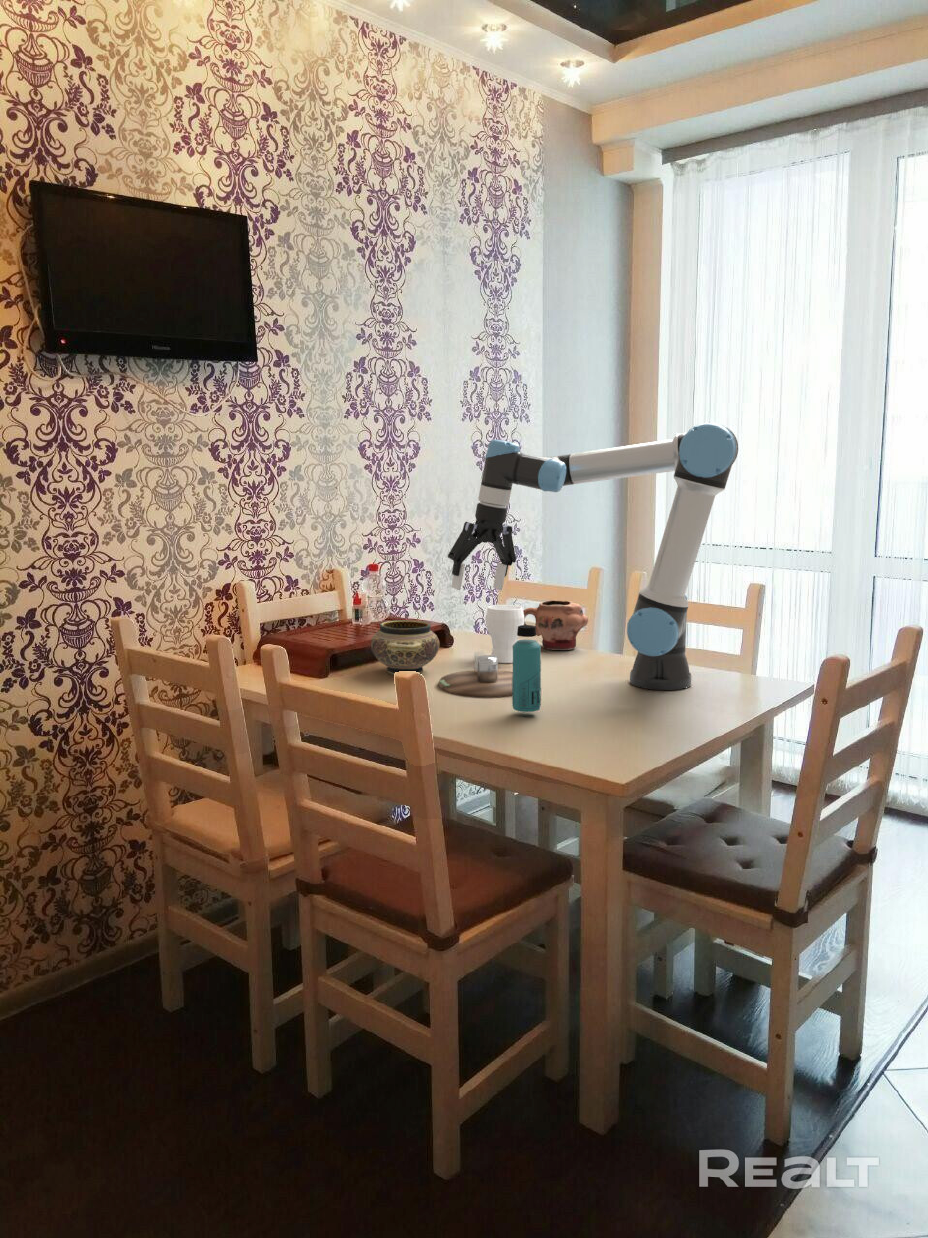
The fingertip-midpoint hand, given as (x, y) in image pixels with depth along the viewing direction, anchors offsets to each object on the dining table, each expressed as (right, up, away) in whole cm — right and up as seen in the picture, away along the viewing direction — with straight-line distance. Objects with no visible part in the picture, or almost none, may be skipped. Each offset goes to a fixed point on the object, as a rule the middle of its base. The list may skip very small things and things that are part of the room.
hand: (476, 588), depth 231 cm
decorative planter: (+23, -16, +44) cm, 53 cm away
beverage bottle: (+10, -29, -25) cm, 40 cm away
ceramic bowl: (-19, -22, +15) cm, 32 cm away
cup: (+8, -19, +28) cm, 35 cm away
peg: (+2, -22, +5) cm, 23 cm away
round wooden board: (+3, -24, +1) cm, 24 cm away
